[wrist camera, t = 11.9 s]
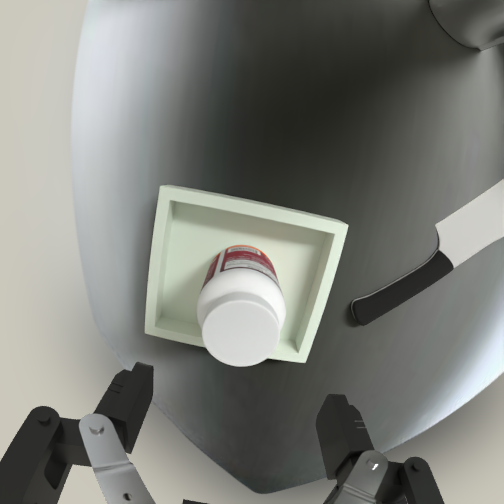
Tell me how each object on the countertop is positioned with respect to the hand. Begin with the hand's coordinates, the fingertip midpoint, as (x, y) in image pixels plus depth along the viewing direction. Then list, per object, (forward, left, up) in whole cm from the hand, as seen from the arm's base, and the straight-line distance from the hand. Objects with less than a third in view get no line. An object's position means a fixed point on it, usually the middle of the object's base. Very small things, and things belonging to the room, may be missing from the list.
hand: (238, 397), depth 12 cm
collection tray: (0, 0, -17) cm, 17 cm away
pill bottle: (0, 0, -16) cm, 16 cm away
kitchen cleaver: (-23, -9, -17) cm, 30 cm away
